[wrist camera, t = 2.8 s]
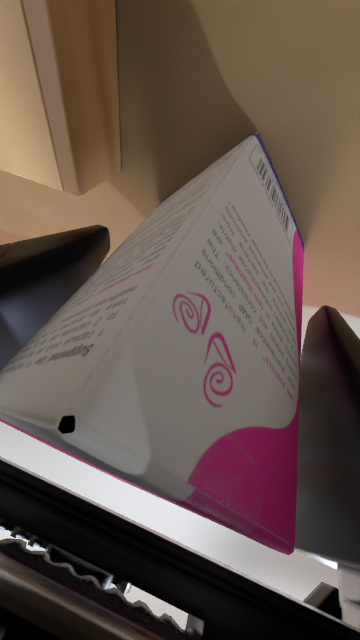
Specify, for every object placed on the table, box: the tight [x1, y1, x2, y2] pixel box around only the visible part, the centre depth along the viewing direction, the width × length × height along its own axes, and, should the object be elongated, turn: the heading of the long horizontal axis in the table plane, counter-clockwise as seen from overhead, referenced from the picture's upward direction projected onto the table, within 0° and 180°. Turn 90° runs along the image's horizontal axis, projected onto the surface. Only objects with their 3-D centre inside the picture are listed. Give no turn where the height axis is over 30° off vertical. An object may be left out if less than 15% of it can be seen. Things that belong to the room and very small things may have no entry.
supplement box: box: [0, 132, 304, 555], centre depth 8 cm, size 6×6×12 cm
